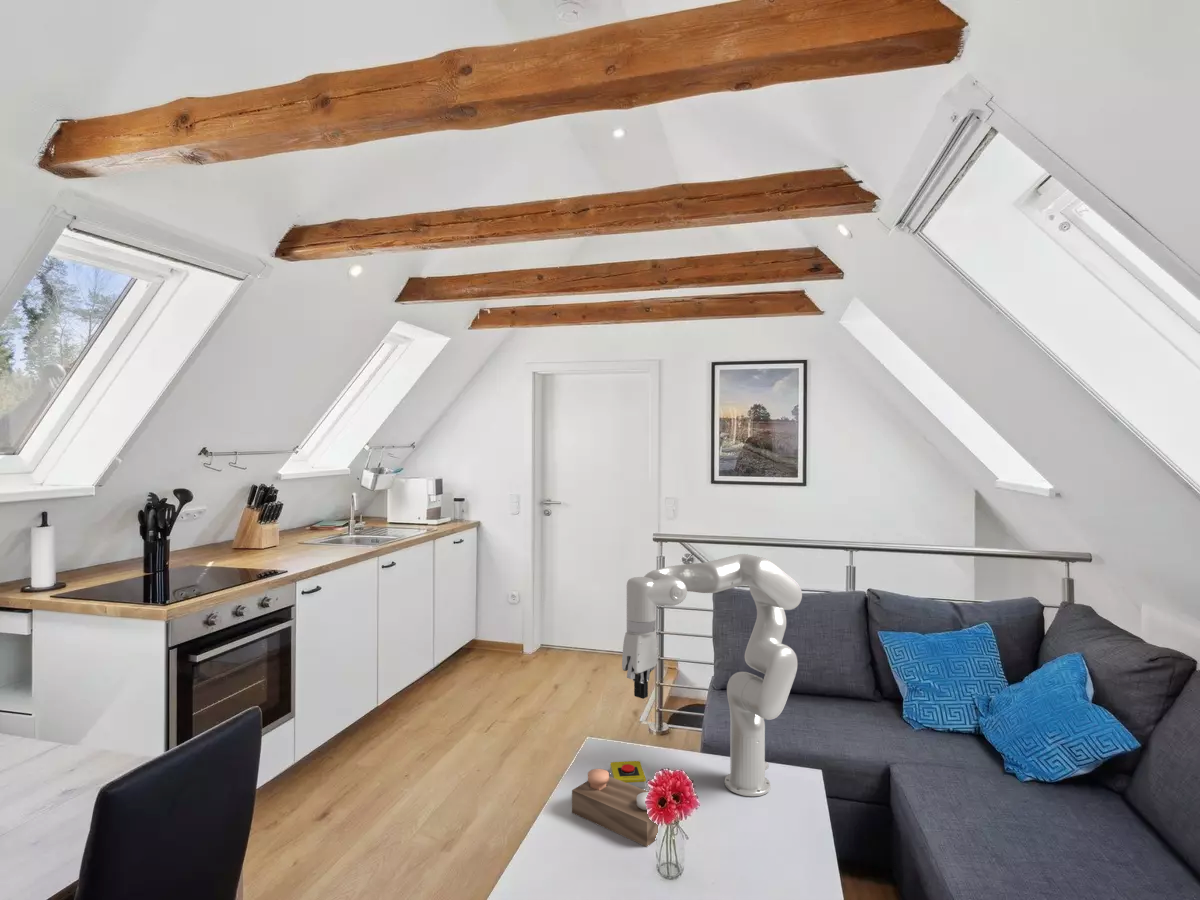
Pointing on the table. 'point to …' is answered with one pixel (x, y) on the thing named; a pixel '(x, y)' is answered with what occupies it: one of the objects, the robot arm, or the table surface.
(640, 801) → the white glossy ovoid
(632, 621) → the robot arm
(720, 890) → the table surface
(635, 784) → the emergency button
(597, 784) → the peach round knob
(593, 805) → the press console
